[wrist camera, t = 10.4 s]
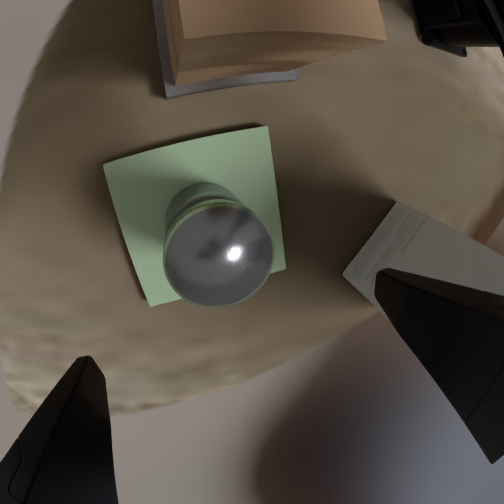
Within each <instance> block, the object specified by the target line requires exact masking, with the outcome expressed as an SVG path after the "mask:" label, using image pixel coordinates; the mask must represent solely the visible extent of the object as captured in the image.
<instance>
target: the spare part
mask: <svg viewBox="0 0 504 504" xmlns="http://www.w3.org/2000/svg"><path fill="white" fill-rule="evenodd" d="M274 259H275V245H274V240H273V237H272V234H271V232H270V230H269V228H268V227H267V225H266V224H265V222H264V221H263V220H262V219H261V218H260V217H259V216H258V215H257V214H256V213H255V212H254V211H252V210H251V209H250V208H248V207H247V206H245V205H244V204H243V203H242V202H241V201H240V200H239V199H238V198H237V197H236V196H235V195H234V194H233V193H232V192H231V191H229V190H228V189H227V188H225V187H223V186H221V185H218V184H214V183H207V182H205V183H197V184H193V185H190V186H188V187H186V188H184V189H183V190H181V191H180V192H179V193H178V194H177V195H176V196H175V197H174V198H173V199H172V201H171V202H170V204H169V206H168V208H167V211H166V215H165V240H164V245H163V268H164V272H165V276H166V278H167V281H168V282H169V284H170V286H171V287H172V289H173V290H174V291H175V292H176V293H177V294H178V295H179V296H180V297H182V298H183V299H184V300H186V301H188V302H190V303H192V304H194V305H197V306H201V307H206V308H222V307H228V306H232V305H235V304H238V303H240V302H242V301H244V300H246V299H247V298H249V297H250V296H252V295H253V294H254V293H256V292H257V291H258V290H259V289H260V288H261V286H262V285H263V284H264V283H265V281H266V280H267V278H268V276H269V274H270V272H271V270H272V267H273V264H274Z"/></svg>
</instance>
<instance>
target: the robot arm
mask: <svg viewBox="0 0 504 504" xmlns="http://www.w3.org/2000/svg"><path fill="white" fill-rule="evenodd" d="M413 2H414V6H415V9H416V13H417V17H418V21H419V26H420V30H421V35H422V39H423V42H424V43H425V44H426V45H427V46H431V47H434V48H437V49H440V50H443V51H446V52H449V53H452V54H455V55H458V56H460V57H466V56H467V51H466V47H500V49H501V52H502V54H503V57H504V0H413ZM374 295H375V298H376V300H377V302H378V303H379V305H380V306H381V308H382V309H383V311H384V312H385V314H386V315H387V317H388V318H389V320H390V321H391V323H392V325H393V326H394V328H395V329H396V331H397V332H398V334H399V335H400V336H401V338H402V339H403V340H404V341H405V343H406V344H407V345H408V346H409V348H410V349H411V350H412V352H413V353H414V354H415V355H416V357H417V358H418V359H419V361H420V362H421V363H422V365H423V366H424V367H425V369H426V370H427V371H428V373H429V374H430V375H431V377H432V378H433V379H434V381H435V382H436V383H437V385H438V386H439V387H440V389H441V390H442V391H443V393H444V394H445V396H446V397H447V399H448V400H449V401H450V403H451V404H452V406H453V407H454V408H455V410H456V411H457V413H458V414H459V416H460V417H461V419H462V420H463V421H464V423H465V425H466V426H467V427H468V429H469V431H470V432H471V434H472V435H473V437H474V438H475V440H476V441H477V443H478V444H479V446H480V448H481V449H482V451H483V452H484V454H485V455H486V457H487V459H488V460H489V462H490V463H491V464H493V463H494V462H496V461H497V460H498V459H499V458H500V457H502V456H503V455H504V296H503V295H499V294H495V293H491V292H487V291H482V290H479V289H475V288H471V287H467V286H463V285H458V284H454V283H450V282H446V281H442V280H438V279H434V278H430V277H426V276H422V275H417V274H413V273H409V272H405V271H401V270H396V269H392V268H384V269H382V270H379V271H378V272H377V273H376V278H375V289H374ZM110 423H111V422H110V415H109V407H108V399H107V391H106V381H105V377H104V375H103V373H102V371H101V370H100V368H99V367H98V366H97V364H96V363H95V361H94V360H93V358H92V357H91V356H83V357H79V358H77V359H76V360H75V362H74V363H73V364H72V365H71V367H70V368H69V369H68V370H67V372H66V373H65V374H64V375H63V377H62V378H61V379H60V380H59V382H58V383H57V384H56V386H55V387H54V388H53V390H52V391H51V392H50V393H49V395H48V396H47V397H46V399H45V400H44V401H43V403H42V404H41V405H40V407H39V408H38V410H37V411H36V412H35V414H34V415H33V416H32V418H31V419H30V421H29V422H28V423H27V425H26V426H25V428H24V429H23V430H22V432H21V433H20V435H19V436H18V438H17V439H16V441H15V442H14V443H13V445H12V446H11V448H10V449H9V451H8V452H7V454H6V455H5V457H4V458H3V459H2V461H1V462H0V504H118V497H117V490H116V483H115V474H114V465H113V452H112V438H111V424H110Z"/></svg>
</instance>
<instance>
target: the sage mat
mask: <svg viewBox="0 0 504 504" xmlns="http://www.w3.org/2000/svg"><path fill="white" fill-rule="evenodd" d="M103 168H104V172H105V176H106V179H107V183H108V187H109V190H110V194H111V197H112V201H113V204H114V208H115V211H116V214H117V217H118V221H119V224H120V227H121V230H122V233H123V236H124V239H125V242H126V245H127V248H128V251H129V253H130V256H131V259H132V262H133V265H134V267H135V270H136V273H137V275H138V278H139V281H140V283H141V286H142V288H143V291H144V293H145V296H146V298H147V301H148V303H149V305H150V307H152V306H155V305H159V304H163V303H167V302H171V301H174V300H178V299H182V297H180V296H179V295H178V294H177V293H176V292H175V291H174V290H173V289H172V287H171V286H170V284H169V282H168V281H167V278H166V276H165V272H164V268H163V245H164V240H165V215H166V211H167V208H168V206H169V204H170V202H171V201H172V199H173V198H174V197H175V196H176V195H177V194H178V193H179V192H180V191H181V190H183V189H184V188H186V187H188V186H190V185H193V184H197V183H205V182H207V183H214V184H218V185H221V186H223V187H225V188H227V189H228V190H229V191H231V192H232V193H233V194H234V195H235V196H236V197H237V198H238V199H239V200H240V201H241V202H242V203H243V204H244V205H245V206H247V207H248V208H250V209H251V210H252V211H254V212H255V213H256V214H257V215H258V216H259V217H260V218H261V219H262V220H263V221H264V222H265V224H266V225H267V227H268V228H269V230H270V232H271V234H272V237H273V240H274V245H275V259H274V264H273V267H272V270H271V272H270V274H271V273H274V272H278V271H281V270H285V269H286V263H285V254H284V245H283V237H282V228H281V220H280V212H279V204H278V196H277V189H276V181H275V174H274V166H273V159H272V152H271V145H270V138H269V132H268V126H261V127H254V128H248V129H242V130H236V131H231V132H225V133H220V134H215V135H210V136H205V137H201V138H196V139H192V140H187V141H183V142H179V143H175V144H171V145H167V146H163V147H159V148H155V149H152V150H148V151H144V152H141V153H137V154H134V155H131V156H127V157H124V158H121V159H117V160H114V161H111V162H108V163H105V164H103Z"/></svg>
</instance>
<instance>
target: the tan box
mask: <svg viewBox="0 0 504 504" xmlns="http://www.w3.org/2000/svg"><path fill="white" fill-rule="evenodd" d="M152 5H153V13H154V21H155V28H156V35H157V42H158V49H159V56H160V62H161V68H162V74H163V80H164V86H165V92H166V97H167V99H171V98H176V97H180V96H185V95H190V94H195V93H200V92H206V91H212V90H218V89H224V88H231V87H238V86H246V85H255V84H265V83H277V82H291V81H294V80H297V79H298V78H297V72H296V68H298V67H301V66H304V65H307V64H310V63H312V62H315V61H318V60H321V59H324V58H327V57H331V56H334V55H337V54H340V53H344V52H347V51H351V50H354V49H358V48H362V47H365V46H369V45H373V44H377V43H382V42H386V41H387V37H386V32H385V27H384V23H383V18H382V14H381V10H380V6H379V3H378V0H152Z"/></svg>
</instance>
